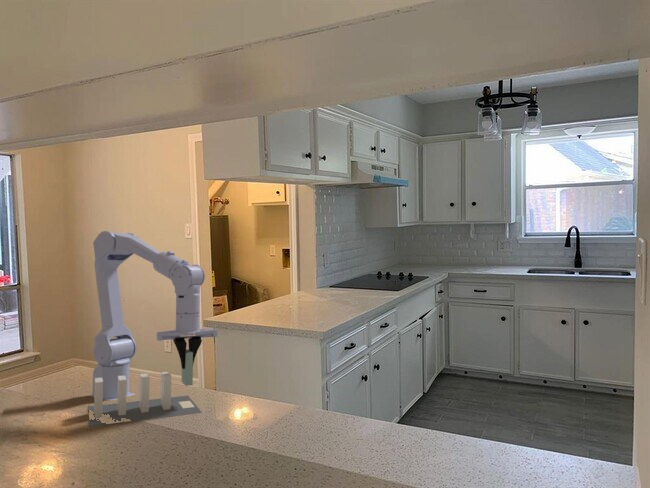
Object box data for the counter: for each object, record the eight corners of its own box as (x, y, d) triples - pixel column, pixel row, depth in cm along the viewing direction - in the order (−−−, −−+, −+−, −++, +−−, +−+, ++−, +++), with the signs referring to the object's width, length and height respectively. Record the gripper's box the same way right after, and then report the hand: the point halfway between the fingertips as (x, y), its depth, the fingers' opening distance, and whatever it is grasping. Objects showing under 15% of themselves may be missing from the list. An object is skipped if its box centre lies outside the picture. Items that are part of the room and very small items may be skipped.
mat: (89, 428, 106) (89, 427, 106) (87, 408, 121) (88, 406, 121) (202, 414, 116) (202, 412, 116) (188, 397, 131) (188, 395, 131)
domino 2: (118, 415, 114) (119, 380, 114) (117, 409, 118) (117, 376, 119) (126, 414, 114) (126, 379, 115) (124, 409, 119) (124, 375, 119)
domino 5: (185, 385, 121) (186, 352, 121) (181, 381, 125) (182, 349, 125) (192, 385, 121) (192, 352, 122) (187, 380, 126) (188, 349, 126)
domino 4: (163, 410, 118) (164, 376, 119) (160, 404, 123) (161, 372, 123) (170, 409, 119) (171, 375, 119) (167, 403, 123) (167, 371, 124)
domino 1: (94, 418, 112) (95, 382, 112) (94, 412, 116) (94, 378, 116) (102, 417, 112) (103, 381, 113) (101, 411, 117) (102, 377, 117)
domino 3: (141, 412, 116) (142, 378, 116) (139, 407, 120) (139, 374, 121) (148, 411, 117) (149, 377, 117) (146, 406, 121) (146, 373, 121)
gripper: (159, 315, 117) (158, 373, 117) (220, 313, 124) (219, 368, 123) (155, 313, 123) (154, 368, 123) (213, 310, 130) (213, 363, 129)
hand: (187, 367), depth 123 cm, fingers closed on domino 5, 1 cm apart
